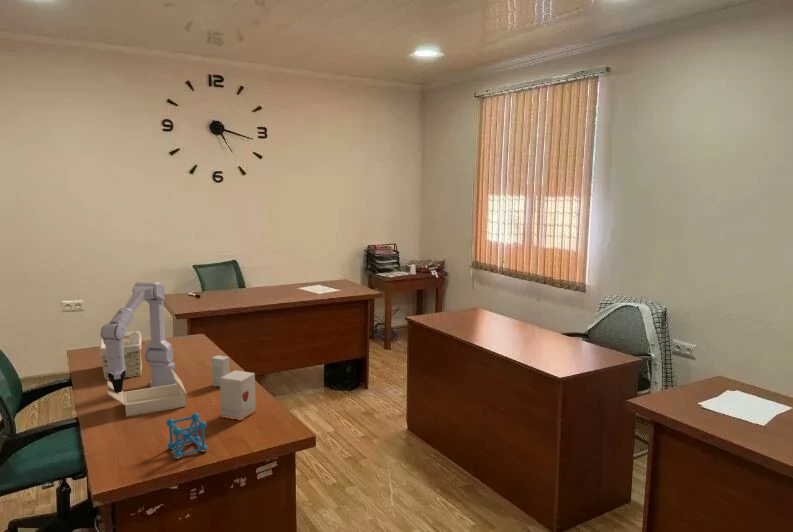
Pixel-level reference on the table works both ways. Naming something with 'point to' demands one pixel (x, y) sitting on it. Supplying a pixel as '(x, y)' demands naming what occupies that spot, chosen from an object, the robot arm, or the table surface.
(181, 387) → the carton flap
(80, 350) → the table surface
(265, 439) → the table surface
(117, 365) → the robot arm
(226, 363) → the skincare box
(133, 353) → the storage basket
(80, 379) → the table surface
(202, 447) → the molecular structure
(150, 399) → the carton
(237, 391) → the supplement box
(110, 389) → the carton flap
